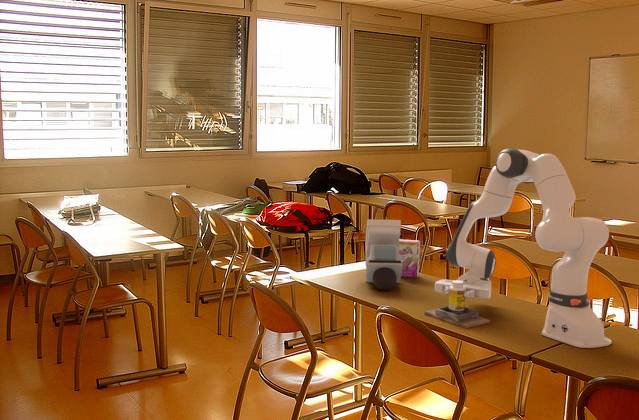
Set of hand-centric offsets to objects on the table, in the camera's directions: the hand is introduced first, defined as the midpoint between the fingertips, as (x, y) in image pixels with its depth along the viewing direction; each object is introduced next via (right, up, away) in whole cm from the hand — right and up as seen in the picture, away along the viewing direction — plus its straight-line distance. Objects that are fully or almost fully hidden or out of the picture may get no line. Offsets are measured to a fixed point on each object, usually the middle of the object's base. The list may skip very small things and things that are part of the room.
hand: (456, 293), depth 241 cm
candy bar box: (-10, 0, +66) cm, 67 cm away
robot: (-22, -2, +50) cm, 54 cm away
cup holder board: (0, -9, +2) cm, 9 cm away
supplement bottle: (0, -6, +2) cm, 6 cm away
